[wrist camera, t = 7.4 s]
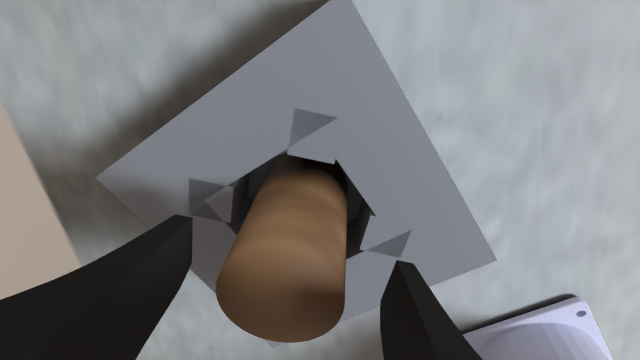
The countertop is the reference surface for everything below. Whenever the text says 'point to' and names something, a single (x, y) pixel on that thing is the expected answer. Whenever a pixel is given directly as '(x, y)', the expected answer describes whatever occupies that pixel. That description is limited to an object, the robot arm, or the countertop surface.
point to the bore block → (312, 143)
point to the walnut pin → (289, 254)
